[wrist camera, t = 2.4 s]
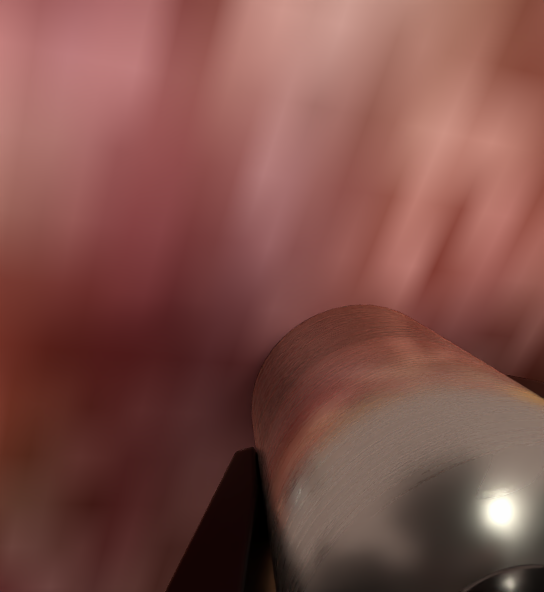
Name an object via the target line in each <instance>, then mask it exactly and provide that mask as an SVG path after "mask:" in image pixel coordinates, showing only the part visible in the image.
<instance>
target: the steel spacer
mask: <svg viewBox="0 0 544 592" xmlns="http://www.w3.org/2000/svg"><path fill="white" fill-rule="evenodd" d="M251 411H252V423H253V430H254V437H255V444H256V451H257V458H258V465H259V472H260V480H261V487H262V494H263V501H264V508H265V515H266V522H267V530H268V537H269V544H270V551H271V558H272V565H273V572H274V579H275V587H276V592H544V398H542V397H541V396H539V395H537V394H536V393H534V392H532V391H531V390H529V389H527V388H526V387H524V386H523V385H521V384H519V383H518V382H516V381H514V380H513V379H511V378H509V377H508V376H506V375H504V374H503V373H501V372H499V371H498V370H496V369H494V368H493V367H491V366H490V365H488V364H486V363H485V362H483V361H481V360H480V359H478V358H476V357H475V356H473V355H471V354H470V353H468V352H466V351H465V350H463V349H461V348H460V347H458V346H457V345H455V344H453V343H452V342H450V341H448V340H447V339H445V338H443V337H442V336H440V335H438V334H437V333H435V332H433V331H432V330H430V329H428V328H427V327H425V326H423V325H422V324H420V323H419V322H417V321H415V320H414V319H412V318H410V317H408V316H406V315H404V314H402V313H400V312H398V311H395V310H392V309H389V308H386V307H380V306H374V305H352V306H344V307H340V308H335V309H331V310H329V311H326V312H323V313H320V314H318V315H316V316H314V317H312V318H310V319H308V320H306V321H304V322H303V323H301V324H300V325H298V326H297V327H295V328H294V329H293V330H292V331H290V332H289V333H288V334H287V335H286V336H285V337H284V338H283V339H282V340H281V341H280V342H279V343H278V344H277V345H276V346H275V347H274V348H273V350H272V351H271V353H270V354H269V356H268V357H267V359H266V360H265V362H264V364H263V366H262V368H261V370H260V372H259V374H258V377H257V380H256V382H255V386H254V391H253V395H252V407H251Z"/></svg>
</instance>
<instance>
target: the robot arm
mask: <svg viewBox="0 0 544 592" xmlns="http://www.w3.org/2000/svg"><path fill="white" fill-rule="evenodd" d="M504 375H505V374H504ZM506 376H508V377H509V378H511V379H513V380H514V381H516V382H518V383H519V384H521V385H523V386H524V387H526V388H527V389H529V390H531V391H532V392H534V393H536V394H537V395H539V396H541V397H542V398H544V382H539V381H534V380H529V379H524V378H520V377H515V376H510V375H506ZM165 592H276V587H275V579H274V572H273V565H272V558H271V551H270V544H269V537H268V530H267V522H266V515H265V508H264V501H263V494H262V487H261V480H260V472H259V465H258V458H257V452H256V450H255V448H254V447H250V448H247V449H244V450H240V451H237V452H236V453H235V454H234V456H233V458H232V460H231V462H230V464H229V466H228V468H227V470H226V472H225V474H224V476H223V478H222V480H221V482H220V484H219V486H218V488H217V490H216V492H215V494H214V496H213V498H212V500H211V502H210V504H209V506H208V508H207V510H206V512H205V514H204V516H203V518H202V520H201V522H200V524H199V526H198V528H197V530H196V532H195V534H194V536H193V538H192V540H191V542H190V544H189V546H188V548H187V550H186V552H185V554H184V556H183V558H182V560H181V562H180V564H179V566H178V567H177V569H176V571H175V573H174V575H173V577H172V579H171V581H170V583H169V585H168V587H167V589H166V591H165Z"/></svg>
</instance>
